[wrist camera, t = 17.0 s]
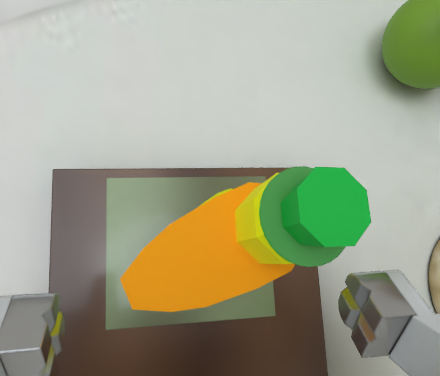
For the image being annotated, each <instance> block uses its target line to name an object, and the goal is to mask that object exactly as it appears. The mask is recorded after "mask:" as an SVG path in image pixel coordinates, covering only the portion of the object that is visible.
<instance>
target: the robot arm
mask: <svg viewBox="0 0 440 376" xmlns="http://www.w3.org/2000/svg"><path fill="white" fill-rule="evenodd" d="M345 283H346V285H347V286H348V287H347V288H346V289H344V290H343V291H342V292H341V294H340V297H339V300H338V304H339V312H340V315H341V318H342V320H343V322H344V324H345V325H347V326H348V327H349V328H351V329H352V330H353V331H352V336H351V338H352V340H353V341H354V343H355V345H356V347H357V349H358V351H359V353H360V355H361V357H362V358H366V357H378V356H389V358H390V359H391V360H392V361H394V362H395V363H396V364H397V365H398V366H399V367H400V368H401V369H403V370H404V371H405V372H406V373H407V374H408V375H409V376H440V314H439V313H438V314H434V313H433V312H432V311H431V309H430V308H429V307H428V305H427V304H426V303H425V301H424V300H423V299H422V298H421V296H420V295H419V294H418V292H417V291H416V290H415V288H414V287H413V286H412V284H411V283H410V282H409V281H408V279H407V278H406V277H405V275H404V274H403V273H402V272H401V271H399V270H388V271H371V272H359V273H351V274H349V275H348V276H347V279H346V281H345ZM59 307H60V298H59V295H58V294H57V293H50V294H27V295H8V296H0V376H57V374H58V369H59V365H58V361H57V357H56V356H57V355H58V354H59V353H60V352H61V351H62V348H63V343H64V333H65V322H64V316H63V313H62V312H60V311H59Z"/></svg>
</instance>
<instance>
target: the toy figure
mask: <svg viewBox="0 0 440 376" xmlns="http://www.w3.org/2000/svg"><path fill="white" fill-rule="evenodd" d="M370 223H371V218H370V211H369V204H368V197H367V190H366V189H365V188H364V187H363V186H362V185H361V184H360V183H359V182H358V181H357V180H356V179H355V178H354V177H353V176H352V175H351V174H350V173H349V172H348V171H347V170H346V169H345V168H334V167H315V168H309V167H293V168H289V169H286V170H284V171H282V172H281V173H276V174H274V175H273V176H272V177H270V178H269V179H267V180H266V181H265V182H263V183H253V182H248V183H246V184H244V185H242V186H239V187H237V188H235V189H232V188H230V189H226V190H224V191H221V192H219V193H217V194H215V195H214V196H212V197H211V198H209V199H208V200H206V201H205V202H204V203H202V204H201V205H200V206H198V208H196V209H194V210H193V211H191V212H189V213H188V214H186V215H184V216H183V217H181V218H179V219H178V220H176V221H174V222H173V223H171V224H169V225H168V226H167V227H166V228H165V229H164V230H163V231H162V232H161V233H160V234H159V235H157V236H156V237H155V238H154V239H153V240H152V241H151V242H150V243H149V244H148V245H146V246H145V247H144V248H143V249H142V251H141V252H140V253H139V255H138V256H137V257H136V259H135V260H134V261H133V262H132V264H131V265H130V266H129V268H128V269H127V270H126V272H125V273H124V274H123V275H122V277H121V278H120V281H121V283H122V286H123V288H124V290H125V293H126V295H127V298H128V300H129V302H130V305H131V307H132V309H133V310H147V311H163V312H175V311H182V310H189V309H196V308H203V307H208V306H211V305H213V304H216V303H219V302H222V301H224V300H227V299H230V298H233V297H236V296H238V295H241V294H244V293H247V292H249V291H252V290H255V289H257V288H259V287H261V286H263V285H265V284H267V283H269V282H271V281H273V280H275V279H277V278H279V277H281V276H283V275H285V274H287V273H288V272H290V271H291V270H292V269H293V267H294V266H295V264H296V265H298V266H305V267H314V266H321V265H324V264H326V263H329V262H331V261H332V260H334V259H335V258H336V257H338V256H339V254H340V253H341V252H342V251H343V249H344V248H345V246H355V244H356V243H357V242H358V240H359V239H360V237H361V236H362V234H363V233H364V232H365V230H366V229H367V227H368V226H369V224H370Z"/></svg>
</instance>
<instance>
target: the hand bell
mask: <svg viewBox="0 0 440 376" xmlns="http://www.w3.org/2000/svg"><path fill="white" fill-rule="evenodd" d="M429 287H430V291H431V296H432V302H433V304H434V307H435V310H436V312H437V314H438V313H439V314H440V239H439V241H438V242H437V244H436V246H435V248H434V251H433V253H432V257H431V262H430V266H429Z"/></svg>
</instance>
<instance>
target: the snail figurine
mask: <svg viewBox="0 0 440 376" xmlns="http://www.w3.org/2000/svg"><path fill="white" fill-rule="evenodd" d="M382 55H383V59H384V62H385V65H386V67H387V69H388V70H389V72H390V73H391V74H392V75H393V76H394V77H395V78H396V79H397V80H399V81H400V82H402V83H404V84H406V85H408V86H411V87H415V88H422V89H430V88H438V87H440V0H408V1H407V2H406V3H404V4H403V5H402V6H401V7H400V8H399V9H398V10H397V11H396V12H395V14H394V15H393V16H392V18H391V19H390V21H389V23H388V25H387V27H386V29H385V32H384V35H383V40H382Z"/></svg>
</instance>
